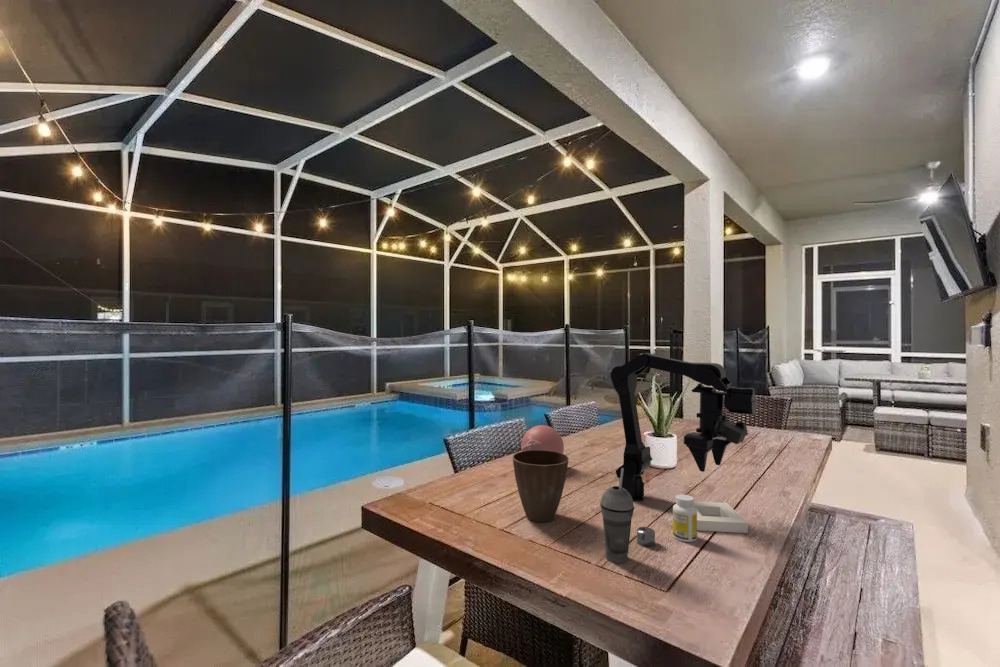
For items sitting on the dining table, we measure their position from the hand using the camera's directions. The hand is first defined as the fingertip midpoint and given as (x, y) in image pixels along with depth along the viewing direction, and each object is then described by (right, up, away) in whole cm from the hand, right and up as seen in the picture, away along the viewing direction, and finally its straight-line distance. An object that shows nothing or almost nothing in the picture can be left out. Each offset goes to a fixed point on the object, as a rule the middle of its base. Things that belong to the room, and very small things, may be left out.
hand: (710, 468), depth 120 cm
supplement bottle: (-12, -13, -12) cm, 22 cm away
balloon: (-43, -13, +40) cm, 60 cm away
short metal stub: (-22, -13, -15) cm, 30 cm away
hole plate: (-1, -13, -2) cm, 13 cm away
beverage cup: (-31, -13, -22) cm, 41 cm away
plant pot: (-46, -13, -1) cm, 48 cm away
